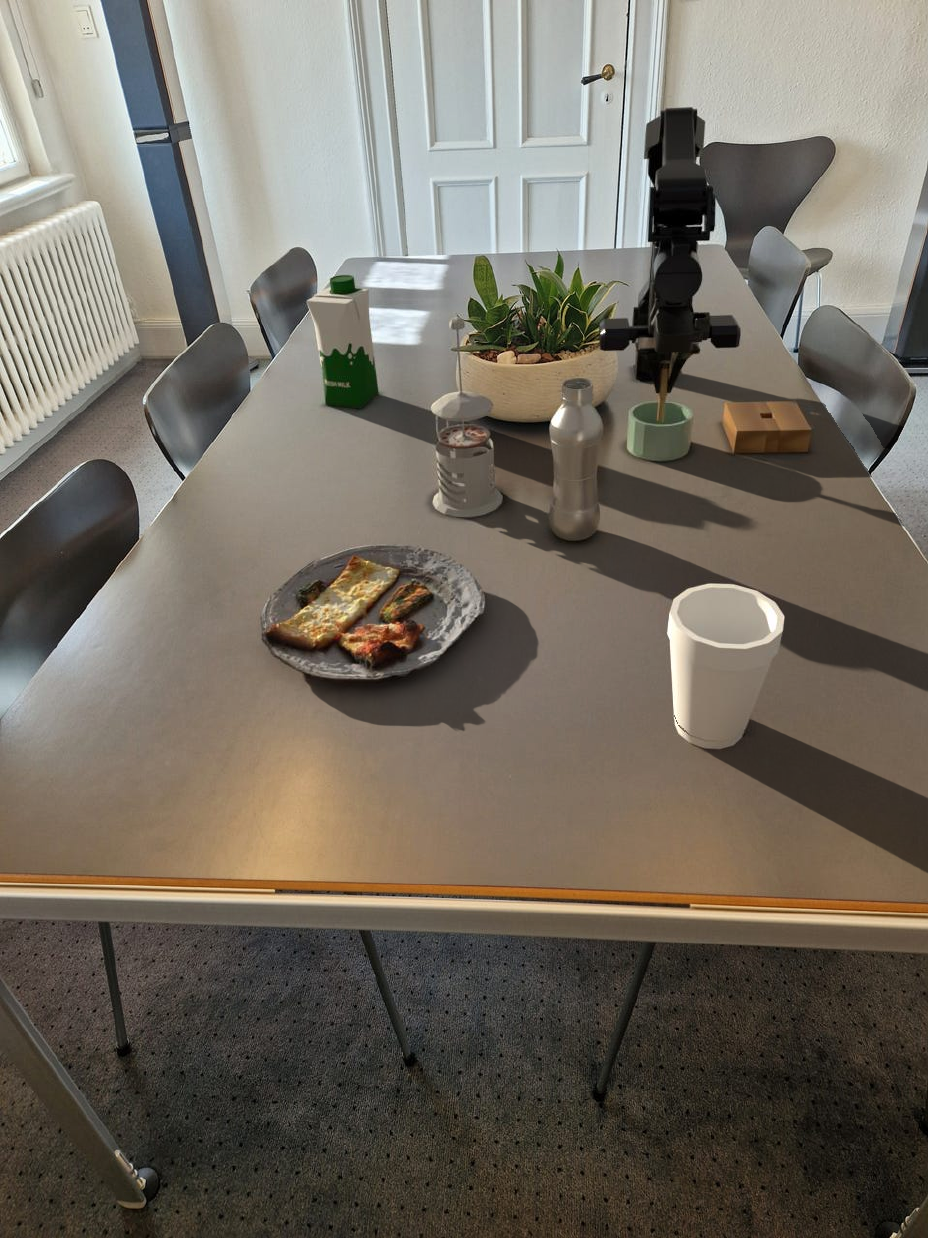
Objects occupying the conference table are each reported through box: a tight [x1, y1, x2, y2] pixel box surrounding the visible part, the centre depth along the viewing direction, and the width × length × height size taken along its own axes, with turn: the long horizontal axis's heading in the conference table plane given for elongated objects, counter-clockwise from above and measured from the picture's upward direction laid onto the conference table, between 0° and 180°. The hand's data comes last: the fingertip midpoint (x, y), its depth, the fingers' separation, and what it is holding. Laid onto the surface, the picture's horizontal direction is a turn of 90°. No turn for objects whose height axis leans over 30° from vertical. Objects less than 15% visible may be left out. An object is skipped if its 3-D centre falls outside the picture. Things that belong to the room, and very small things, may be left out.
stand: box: [722, 400, 813, 454], centre depth 128 cm, size 10×10×4 cm
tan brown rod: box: [657, 360, 670, 423], centre depth 123 cm, size 1×1×9 cm
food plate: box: [260, 543, 486, 684], centre depth 95 cm, size 25×23×4 cm
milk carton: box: [306, 274, 379, 410], centre depth 144 cm, size 9×9×20 cm
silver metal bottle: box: [548, 377, 604, 542], centre depth 103 cm, size 6×7×20 cm
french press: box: [430, 317, 504, 518], centre depth 111 cm, size 10×12×25 cm
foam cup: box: [666, 583, 785, 750], centre depth 76 cm, size 10×9×13 cm
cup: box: [626, 400, 695, 462], centre depth 126 cm, size 9×9×6 cm
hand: (662, 392), depth 123 cm, fingers closed on tan brown rod, 1 cm apart
